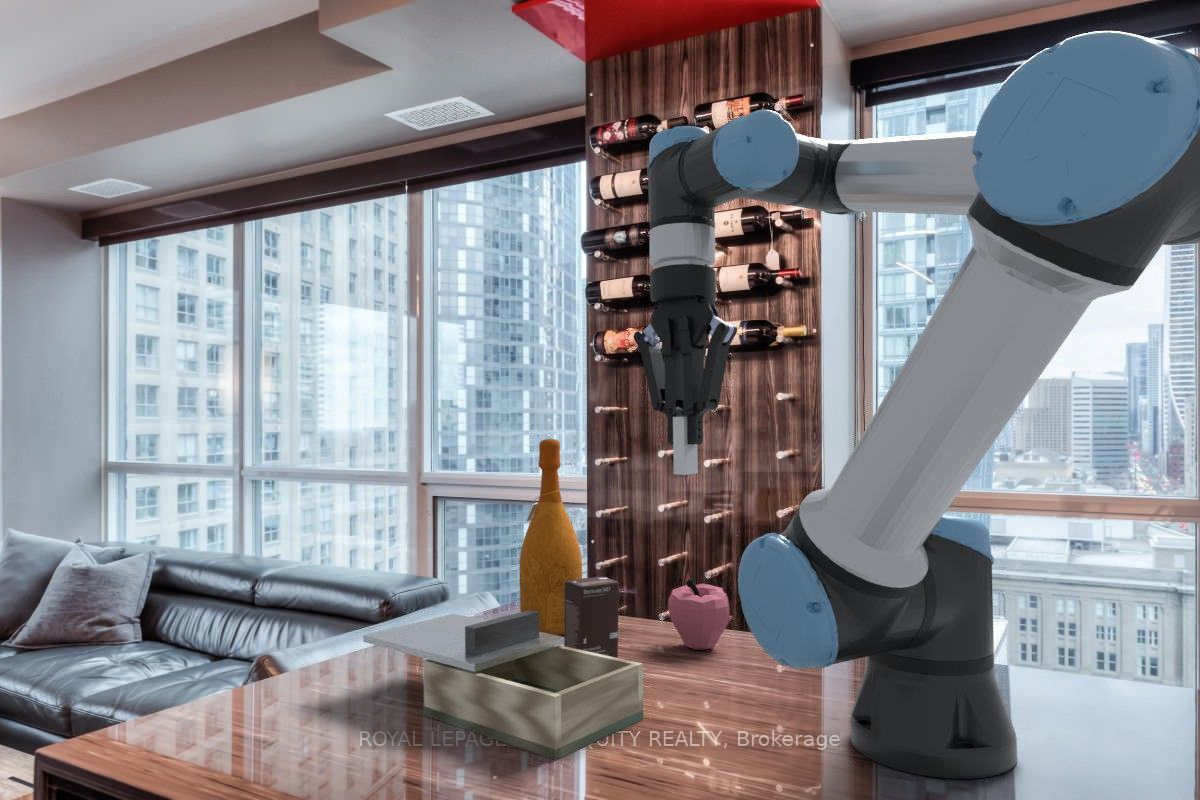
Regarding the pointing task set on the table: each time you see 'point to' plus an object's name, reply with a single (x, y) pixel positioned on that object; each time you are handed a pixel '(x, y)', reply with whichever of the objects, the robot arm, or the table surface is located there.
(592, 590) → the box
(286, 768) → the table surface
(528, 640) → the cover plate
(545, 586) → the wine bottle
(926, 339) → the robot arm
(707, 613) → the apple
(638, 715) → the case
